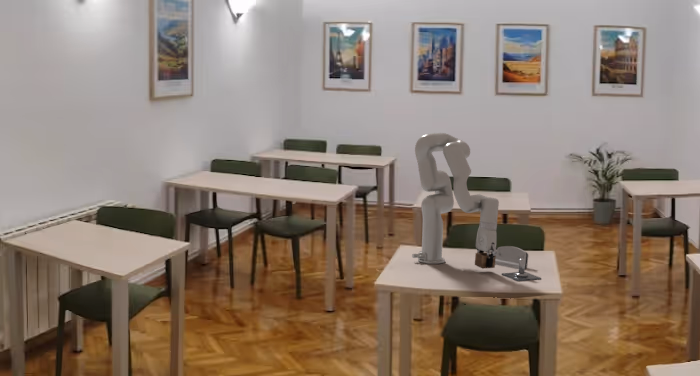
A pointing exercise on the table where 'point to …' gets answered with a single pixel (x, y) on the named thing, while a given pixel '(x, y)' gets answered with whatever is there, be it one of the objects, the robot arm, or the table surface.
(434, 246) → the robot arm
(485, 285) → the table surface
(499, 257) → the hinge
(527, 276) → the post
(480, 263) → the collar
